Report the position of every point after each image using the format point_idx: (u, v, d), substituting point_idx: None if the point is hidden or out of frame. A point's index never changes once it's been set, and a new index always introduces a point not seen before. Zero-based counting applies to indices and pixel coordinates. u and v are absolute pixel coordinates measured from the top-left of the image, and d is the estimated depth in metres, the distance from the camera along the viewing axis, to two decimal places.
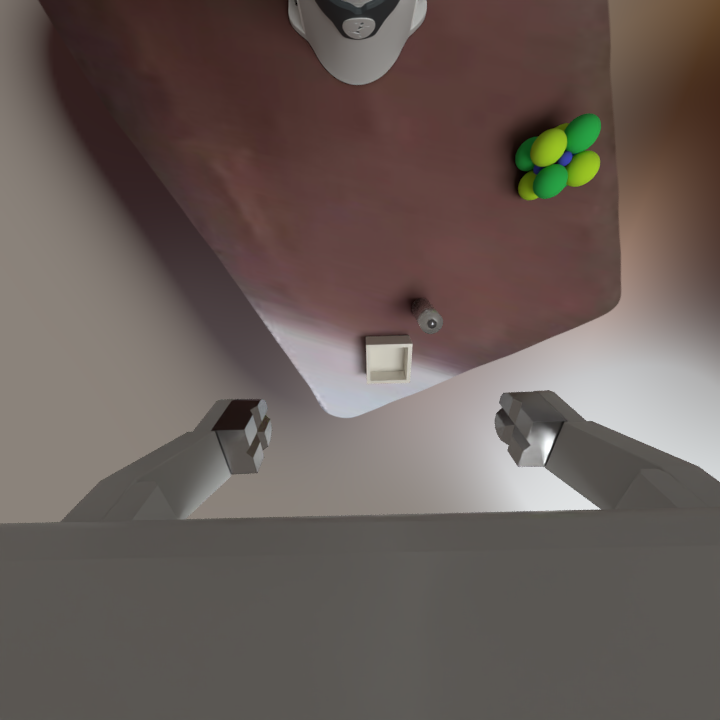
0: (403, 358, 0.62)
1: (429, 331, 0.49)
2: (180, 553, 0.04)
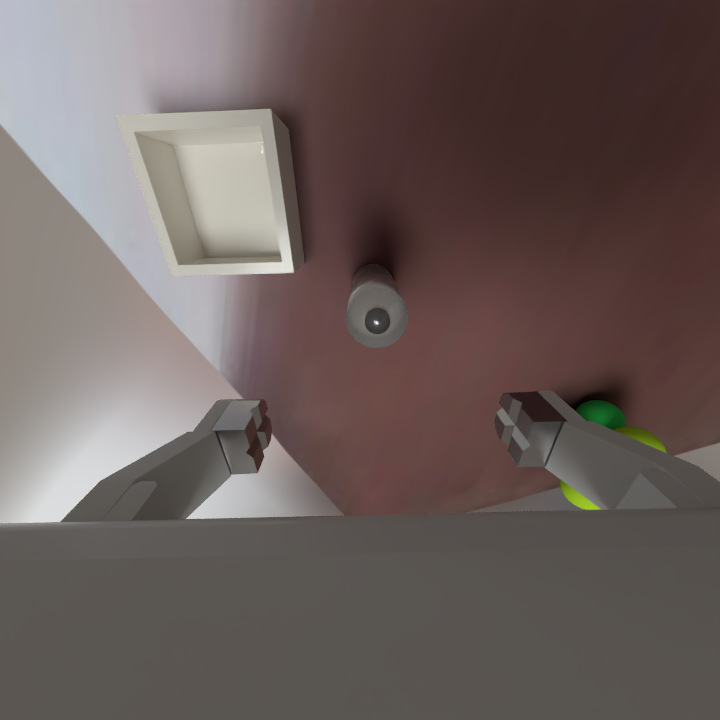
0: (240, 254, 0.24)
1: (353, 317, 0.17)
2: (179, 553, 0.04)
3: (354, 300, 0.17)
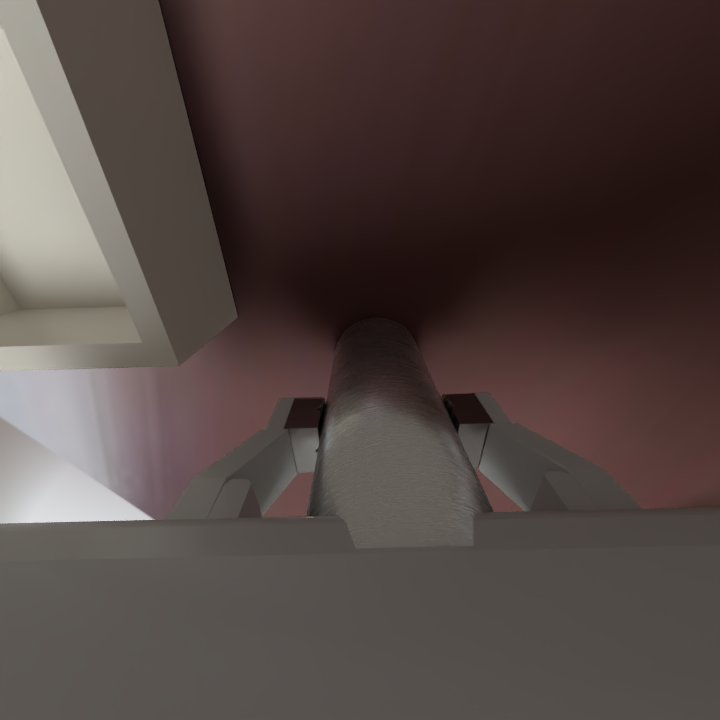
0: (95, 301, 0.11)
1: None
2: (181, 553, 0.04)
3: None
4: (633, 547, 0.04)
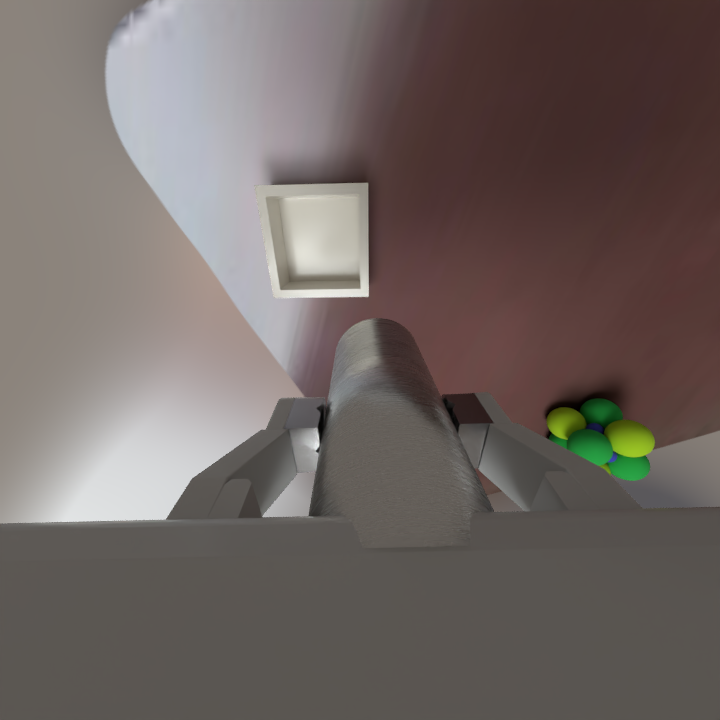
0: (318, 278, 0.30)
1: None
2: (180, 552, 0.04)
3: None
4: (633, 547, 0.04)
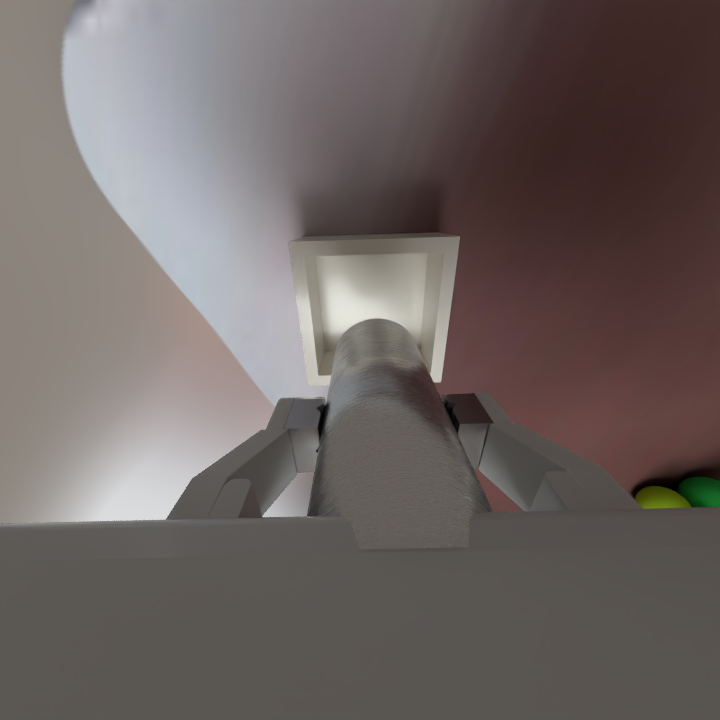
0: None
1: None
2: (180, 553, 0.04)
3: None
4: (633, 547, 0.04)
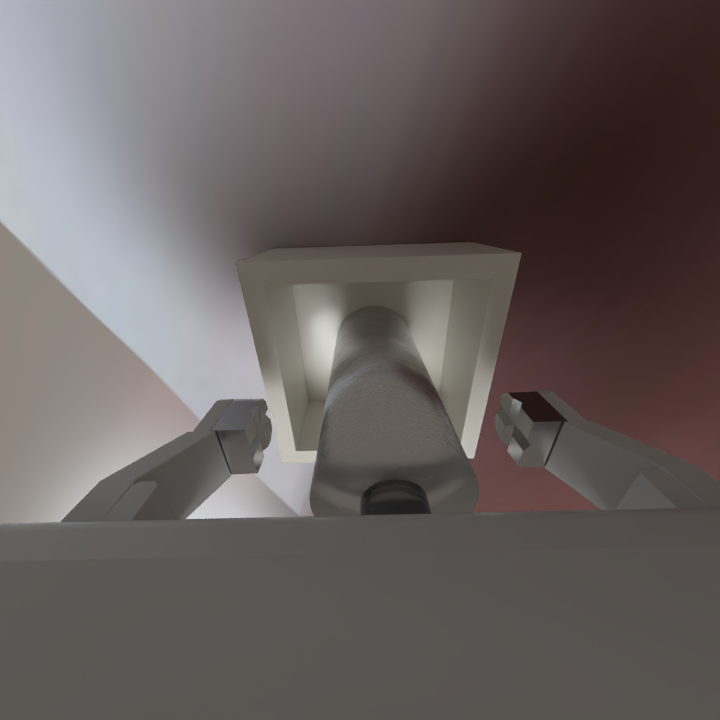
0: None
1: (328, 499, 0.06)
2: (180, 553, 0.04)
3: (330, 465, 0.06)
4: (633, 547, 0.04)
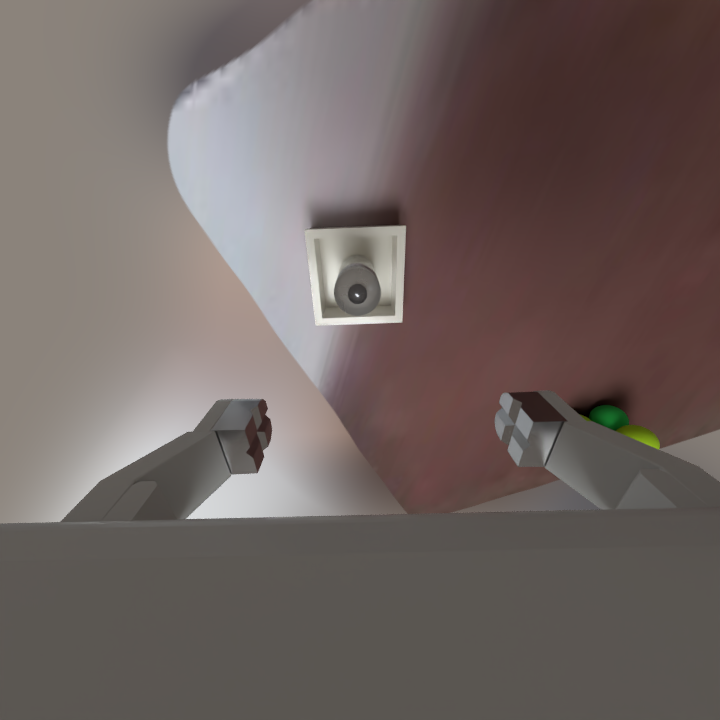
0: None
1: (339, 291, 0.23)
2: (181, 553, 0.04)
3: (339, 278, 0.22)
4: (633, 547, 0.04)
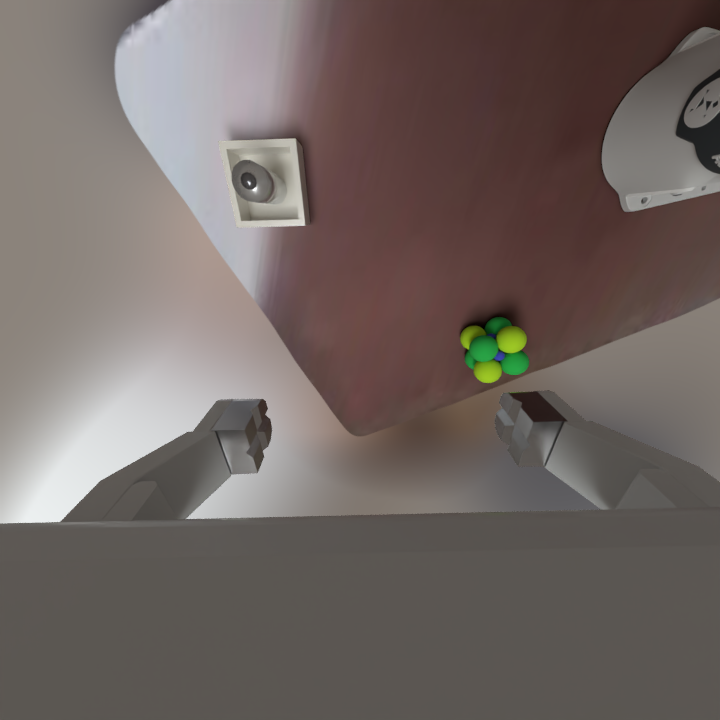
0: (272, 218, 0.41)
1: (235, 180, 0.31)
2: (180, 553, 0.04)
3: (234, 167, 0.30)
4: (633, 547, 0.04)
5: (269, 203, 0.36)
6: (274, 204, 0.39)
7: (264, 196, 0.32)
